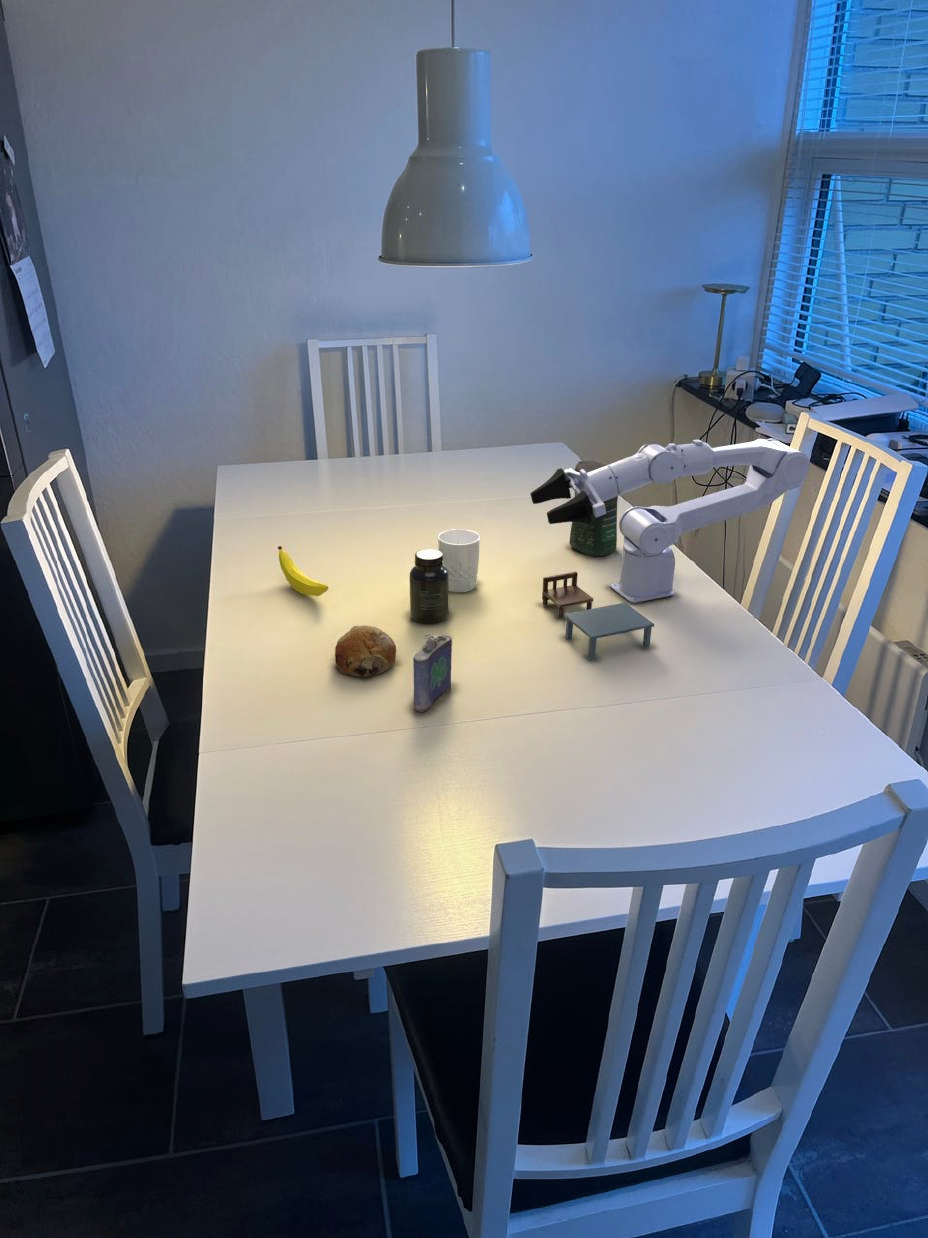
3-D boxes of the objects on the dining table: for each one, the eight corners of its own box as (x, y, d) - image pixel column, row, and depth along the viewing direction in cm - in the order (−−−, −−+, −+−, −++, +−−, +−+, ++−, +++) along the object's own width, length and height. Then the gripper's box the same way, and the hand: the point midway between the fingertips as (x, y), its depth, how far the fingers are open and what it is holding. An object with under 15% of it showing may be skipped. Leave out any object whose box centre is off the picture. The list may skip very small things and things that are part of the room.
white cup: (475, 596, 178) (475, 546, 174) (433, 592, 180) (433, 542, 175) (482, 579, 185) (483, 530, 181) (443, 575, 186) (443, 527, 182)
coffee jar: (622, 551, 198) (630, 465, 190) (594, 560, 194) (601, 472, 185) (590, 537, 205) (596, 453, 196) (562, 545, 201) (567, 460, 192)
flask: (424, 714, 141) (423, 650, 137) (407, 709, 143) (406, 646, 138) (455, 686, 149) (455, 625, 144) (438, 682, 150) (438, 621, 145)
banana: (322, 613, 171) (319, 581, 168) (274, 578, 185) (271, 547, 182) (336, 609, 173) (334, 577, 170) (288, 574, 186) (285, 544, 184)
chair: (572, 597, 178) (573, 569, 176) (592, 613, 172) (594, 585, 169) (539, 603, 176) (541, 575, 173) (559, 620, 170) (560, 591, 167)
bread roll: (402, 678, 158) (409, 630, 158) (378, 682, 148) (386, 631, 148) (347, 668, 161) (354, 621, 160) (320, 671, 151) (328, 621, 151)
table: (623, 625, 168) (625, 602, 166) (651, 647, 161) (654, 623, 159) (563, 637, 164) (564, 614, 162) (589, 661, 156) (591, 637, 154)
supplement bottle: (413, 606, 174) (412, 545, 168) (450, 608, 173) (450, 547, 168) (407, 623, 168) (406, 560, 162) (446, 625, 167) (446, 562, 162)
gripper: (590, 444, 171) (521, 471, 170) (626, 479, 160) (552, 508, 159) (595, 478, 176) (528, 503, 174) (631, 514, 164) (558, 542, 163)
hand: (539, 508), depth 167 cm, fingers open, 7 cm apart
